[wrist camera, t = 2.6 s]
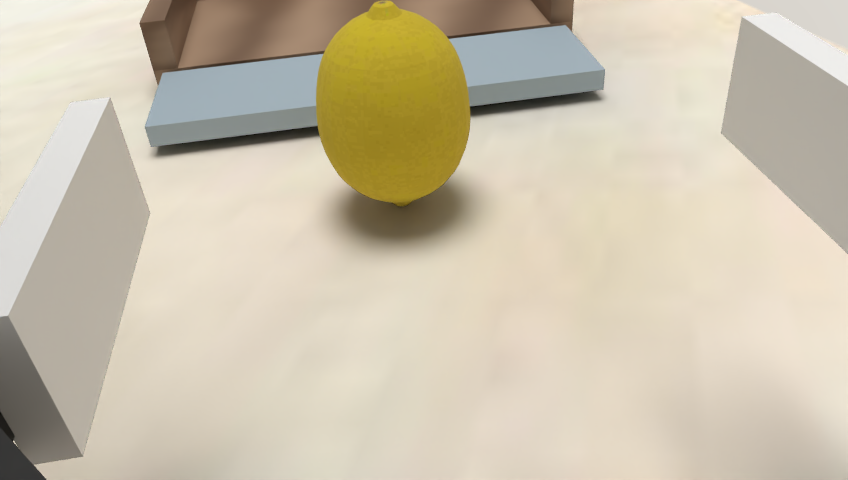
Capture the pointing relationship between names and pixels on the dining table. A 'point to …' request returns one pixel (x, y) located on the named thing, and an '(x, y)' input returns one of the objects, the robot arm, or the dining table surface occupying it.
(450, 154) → the lemon
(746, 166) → the dining table surface
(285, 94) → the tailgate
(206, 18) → the brown wooden tray
